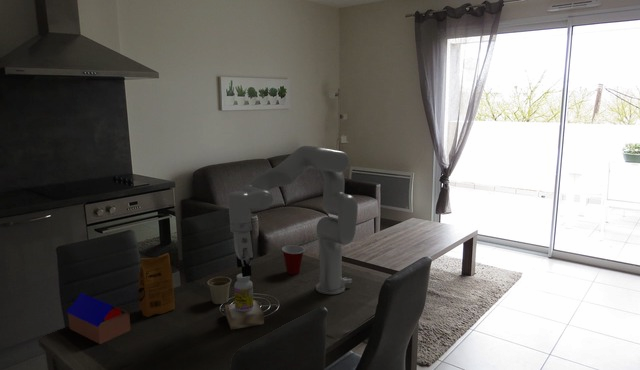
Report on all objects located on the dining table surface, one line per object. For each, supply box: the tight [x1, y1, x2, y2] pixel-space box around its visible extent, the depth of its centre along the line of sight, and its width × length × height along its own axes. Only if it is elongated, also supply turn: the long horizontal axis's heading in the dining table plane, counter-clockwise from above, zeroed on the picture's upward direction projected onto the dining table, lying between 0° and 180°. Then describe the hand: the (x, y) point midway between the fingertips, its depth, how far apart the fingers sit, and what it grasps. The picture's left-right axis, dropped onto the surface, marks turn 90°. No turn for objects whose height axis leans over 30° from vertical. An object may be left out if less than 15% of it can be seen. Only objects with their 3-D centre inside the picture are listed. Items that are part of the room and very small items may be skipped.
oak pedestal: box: [224, 299, 265, 330], centre depth 166 cm, size 12×12×4 cm
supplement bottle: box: [233, 272, 254, 312], centre depth 164 cm, size 7×7×13 cm
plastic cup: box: [281, 244, 306, 276], centre depth 211 cm, size 11×11×12 cm
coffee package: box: [137, 252, 176, 318], centre depth 172 cm, size 10×12×22 cm
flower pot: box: [207, 276, 232, 305], centre depth 181 cm, size 9×9×9 cm
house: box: [66, 292, 131, 345], centre depth 159 cm, size 12×20×12 cm, turn 56°
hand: (244, 271), depth 163 cm, fingers open, 9 cm apart
